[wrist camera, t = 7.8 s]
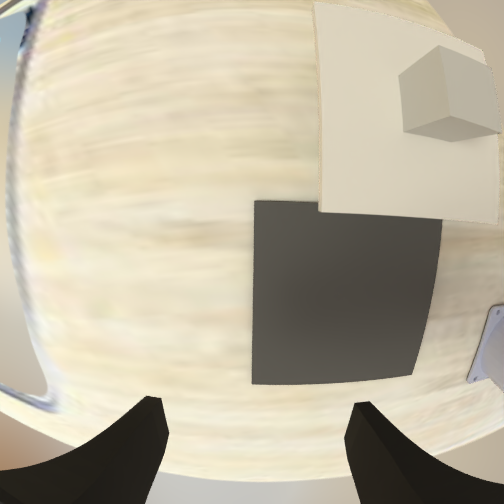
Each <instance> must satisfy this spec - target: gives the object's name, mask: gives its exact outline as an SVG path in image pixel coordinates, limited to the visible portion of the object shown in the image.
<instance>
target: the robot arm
mask: <svg viewBox="0 0 504 504" xmlns="http://www.w3.org/2000/svg"><path fill="white" fill-rule="evenodd" d="M487 378H490V379H491V380H492V381H493V382H494V383H495V384H496V385H497V386H498V387H499V388H500V389H501V390H502V391H503V393H504V305H500V306H494V307H492V308H491V309H490V311H489V315H488V319H487V322H486V326H485V329H484V333H483V336H482V339H481V342H480V345H479V348H478V351H477V354H476V357H475V359H474V362H473V365H472V367H471V370H470V373H469V375H468V378H467V382H468V383H469V384H470V383H474V382H477V381H480V380H483V379H487ZM168 436H169V430H168V426H167V422H166V418H165V413H164V409H163V404H162V400H161V398H157V397H151V396H146V397H144V398H143V399H142V400H141V401H140V402H138V403H137V404H136V405H135V406H134V407H133V408H132V409H130V410H129V411H128V412H127V413H126V414H124V415H123V416H122V417H121V418H120V419H118V420H117V421H116V422H115V423H113V424H112V425H111V426H110V427H108V428H107V429H106V430H104V431H103V432H101V433H100V434H99V435H97V436H96V437H94V438H93V439H91V440H90V441H88V442H87V443H85V444H83V445H81V446H80V447H78V448H76V449H74V450H72V451H70V452H68V453H66V454H63V455H61V456H59V457H56V458H54V459H51V460H49V461H46V462H42V463H40V464H36V465H32V466H28V467H24V468H17V469H11V470H2V471H0V504H145V502H146V499H147V496H148V494H149V491H150V488H151V486H152V483H153V481H154V479H155V476H156V474H157V471H158V469H159V466H160V464H161V461H162V458H163V456H164V453H165V449H166V445H167V441H168ZM344 440H345V447H346V453H347V459H348V463H349V466H350V469H351V473H352V476H353V479H354V482H355V486H356V489H357V493H358V496H359V499H360V503H361V504H504V484H499V483H494V482H490V481H486V480H482V479H479V478H476V477H473V476H470V475H468V474H465V473H463V472H460V471H458V470H456V469H454V468H452V467H450V466H448V465H446V464H444V463H442V462H441V461H439V460H438V459H436V458H434V457H433V456H431V455H430V454H428V453H427V452H425V451H424V450H422V449H421V448H420V447H418V446H417V445H416V444H415V443H413V442H412V441H411V440H410V439H408V438H407V437H406V436H405V435H404V434H403V433H402V432H400V431H399V430H398V429H397V428H396V427H395V426H394V425H393V424H392V423H391V422H390V421H389V420H388V419H387V418H386V417H385V416H384V415H383V414H382V413H381V412H380V411H379V410H378V409H377V408H376V407H375V406H374V405H373V404H372V403H371V402H370V401H368V402H359V403H354V407H353V410H352V414H351V417H350V420H349V424H348V427H347V430H346V433H345V436H344Z"/></svg>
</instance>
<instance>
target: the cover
mask: <svg viewBox="0 0 504 504" xmlns="http://www.w3.org/2000/svg"><path fill="white" fill-rule="evenodd" d="M312 16H313V27H314V39H315V52H316V68H317V88H318V116H319V201H318V211H320V212H328V213H352V214H372V215H390V216H405V217H419V218H432V219H444V220H456V221H467V222H477V223H486V224H495V225H498V215H499V194H500V165H499V145H498V134H501V133H502V127H501V119H500V111H499V105H498V98H497V93H496V88H495V82H494V77H493V73H492V69H491V67H489V66H487V65H486V62H485V58H484V54H483V50H481V49H479V48H477V47H475V46H472V45H471V44H468V43H466V42H464V41H462V40H459V39H457V38H455V37H452V36H450V35H448V34H445V33H443V32H440V31H437V30H435V29H432V28H429V27H426V26H423V25H420V24H417V23H414V22H411V21H408V20H405V19H401V18H398V17H394V16H390V15H387V14H383V13H379V12H374V11H370V10H365V9H360V8H355V7H350V6H344V5H338V4H331V3H323V2H314V3H313V7H312Z"/></svg>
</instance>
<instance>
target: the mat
mask: <svg viewBox="0 0 504 504" xmlns="http://www.w3.org/2000/svg"><path fill="white" fill-rule="evenodd" d="M441 231H442V219H432V218H419V217H405V216H390V215H372V214H352V213H328V212H320V211H318V203H311V202H282V201H254V272H253V338H252V384H259V385H302V384H328V383H344V382H356V381H367V380H377V379H385V378H393V377H400V376H407V375H412V372H413V369H414V366H415V363H416V360H417V356H418V353H419V349H420V346H421V342H422V338H423V334H424V330H425V326H426V322H427V318H428V314H429V309H430V304H431V299H432V294H433V289H434V283H435V277H436V271H437V264H438V257H439V250H440V241H441Z"/></svg>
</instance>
